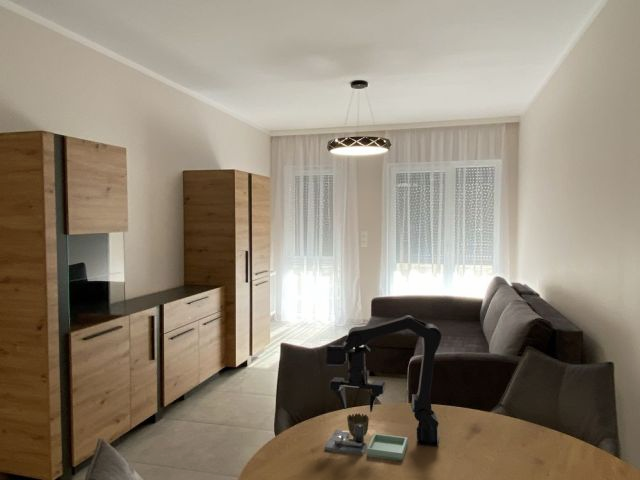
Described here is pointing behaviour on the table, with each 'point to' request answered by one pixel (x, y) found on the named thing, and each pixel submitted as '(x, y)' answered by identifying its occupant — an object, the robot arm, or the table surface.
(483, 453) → the table surface
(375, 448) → the tray
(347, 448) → the grey l-bracket
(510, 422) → the table surface
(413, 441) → the table surface
